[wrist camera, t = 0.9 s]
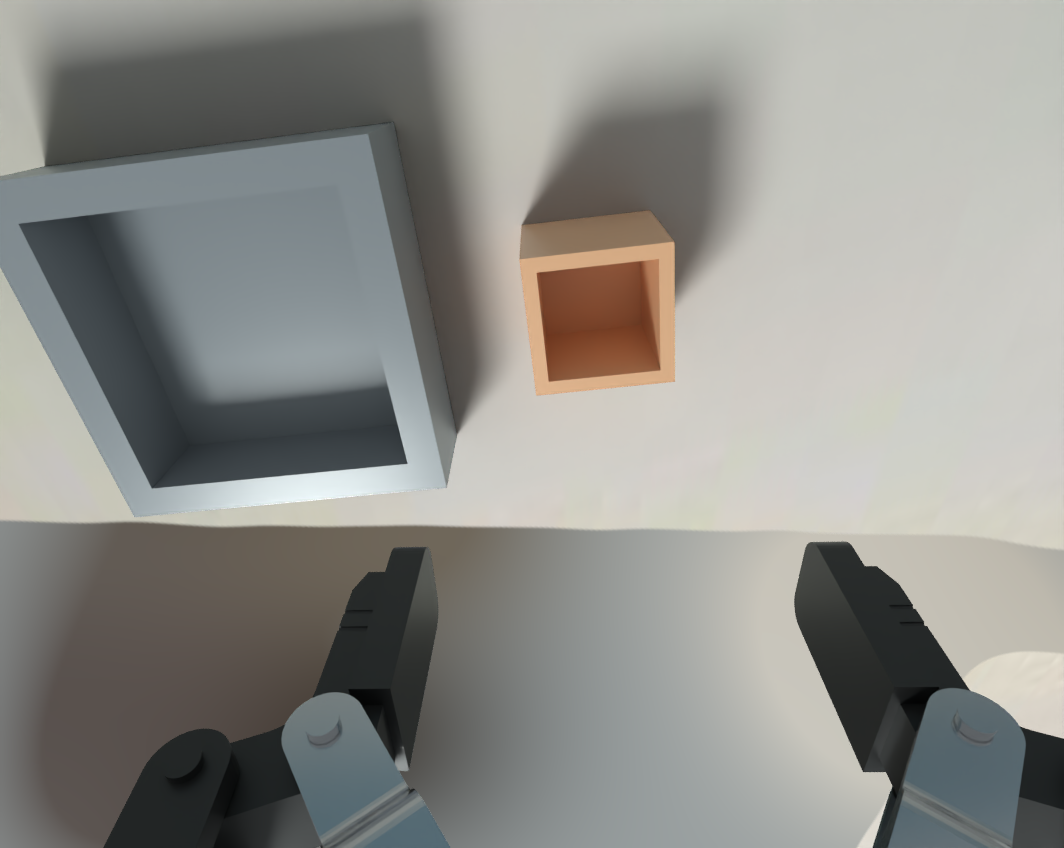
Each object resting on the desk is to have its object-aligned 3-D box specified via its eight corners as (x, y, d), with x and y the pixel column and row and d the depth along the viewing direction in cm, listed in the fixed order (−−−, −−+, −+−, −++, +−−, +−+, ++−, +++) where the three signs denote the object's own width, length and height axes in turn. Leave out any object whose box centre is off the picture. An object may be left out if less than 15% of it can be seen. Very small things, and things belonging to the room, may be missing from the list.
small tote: (649, 209, 30) (674, 241, 24) (652, 330, 33) (674, 381, 27) (521, 224, 30) (519, 259, 25) (535, 342, 33) (536, 395, 28)
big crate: (393, 121, 28) (367, 133, 23) (457, 435, 36) (446, 487, 31) (44, 166, 29) (-44, 185, 24) (181, 462, 37) (134, 517, 32)
